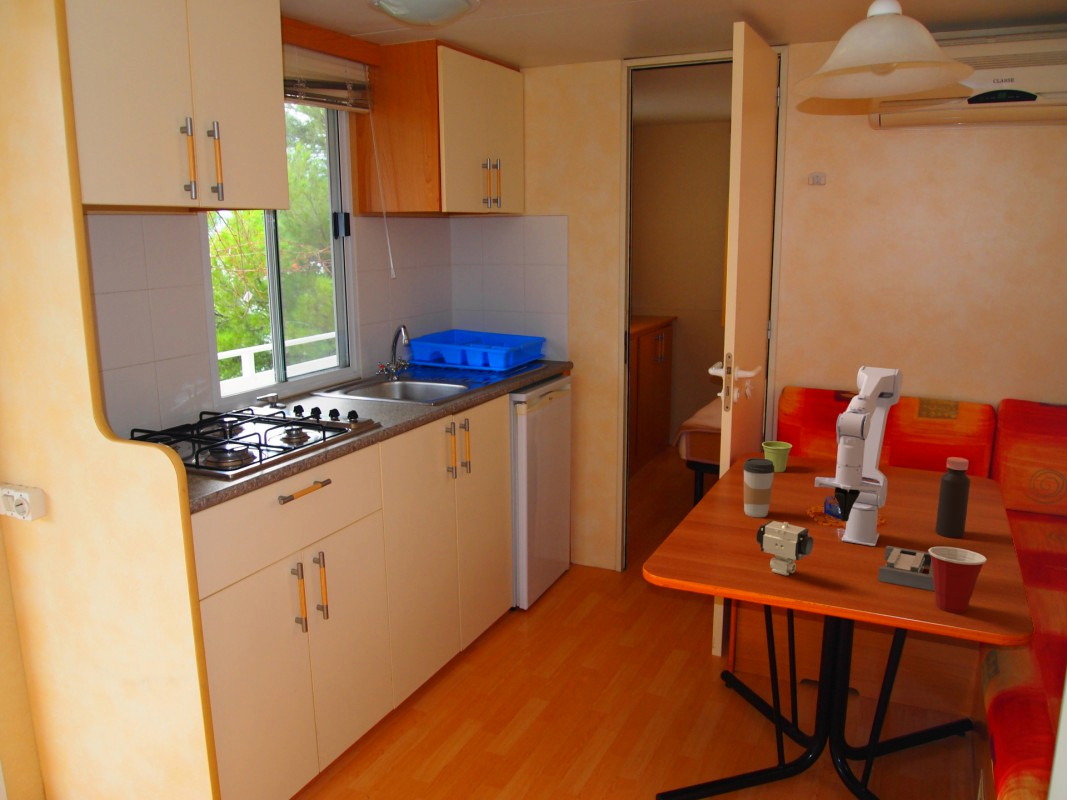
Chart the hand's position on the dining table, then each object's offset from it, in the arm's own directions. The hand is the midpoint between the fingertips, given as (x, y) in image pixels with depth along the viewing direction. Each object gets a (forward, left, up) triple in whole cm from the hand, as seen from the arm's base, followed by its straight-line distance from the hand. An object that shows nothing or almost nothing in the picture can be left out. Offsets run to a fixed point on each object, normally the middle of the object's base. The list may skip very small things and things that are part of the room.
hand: (845, 519), depth 199 cm
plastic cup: (+15, +24, -11) cm, 30 cm away
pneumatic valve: (+14, -11, -11) cm, 21 cm away
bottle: (-34, +22, -10) cm, 42 cm away
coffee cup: (-25, -26, -11) cm, 38 cm away
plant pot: (-73, -31, -11) cm, 80 cm away
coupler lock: (0, +14, -11) cm, 17 cm away
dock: (0, +14, -10) cm, 17 cm away
